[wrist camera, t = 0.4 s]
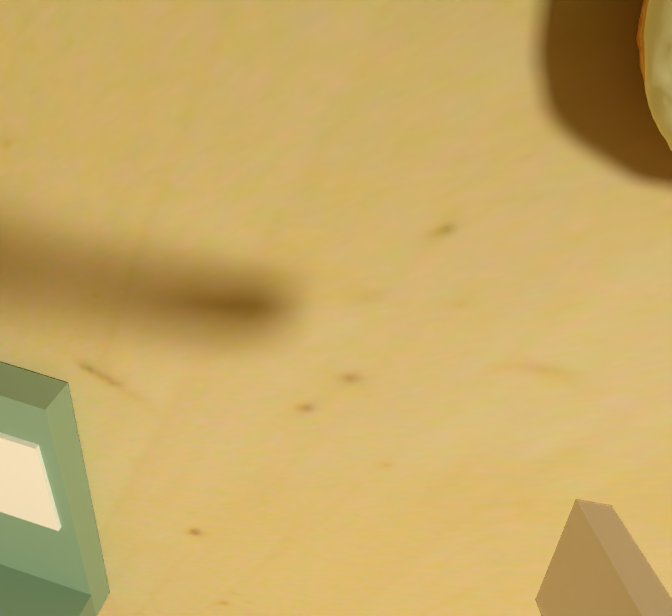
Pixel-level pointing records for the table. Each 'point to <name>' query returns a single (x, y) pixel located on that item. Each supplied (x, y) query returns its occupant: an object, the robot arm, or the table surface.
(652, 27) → the decorated donut
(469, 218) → the table surface
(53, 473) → the green stepped fixture
